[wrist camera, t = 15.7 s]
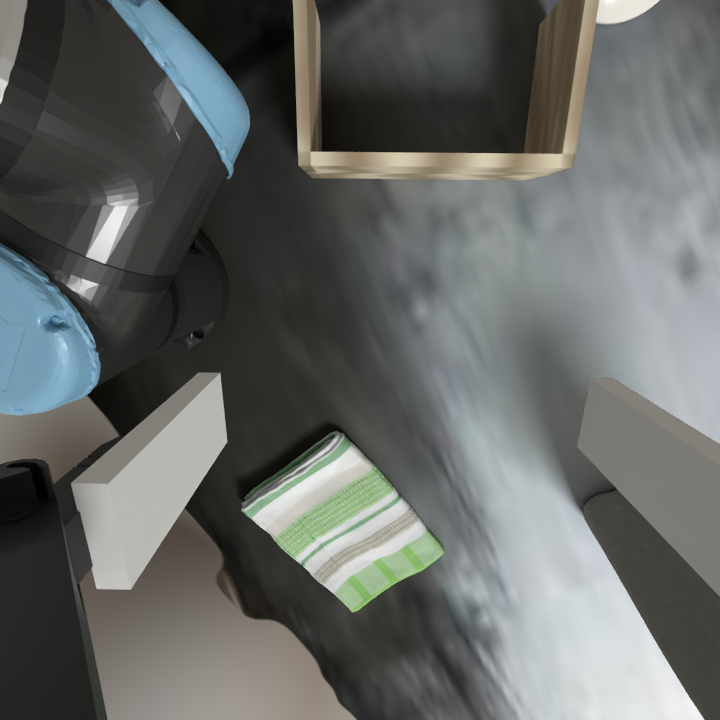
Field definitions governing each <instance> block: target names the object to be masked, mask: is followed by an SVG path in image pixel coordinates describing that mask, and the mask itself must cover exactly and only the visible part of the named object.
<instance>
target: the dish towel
mask: <svg viewBox="0 0 720 720" xmlns="http://www.w3.org/2000/svg"><path fill="white" fill-rule="evenodd" d="M244 499H245V500H246V501H244V502H242V506H243V507H242V511H243V512H244V513H245V514H246V515H247V516H248V517H249V518H251V519H252V520H253V521H254V522H255V523H256V524H257V525H259V526H260V527H261V528H263V529H264V530H265V531H267V532H268V533H269V534H270V535H271V536H272V537H273V539H274V540H275V541H276V542H277V544H278V545H279V546H280V547H281V548H282V549H283V550H284V551H285V552H286V553H287V554H289V555H290V556H291V557H292V558H293V559H295V560H296V561H297V562H299V563H300V564H301V565H302V566H303V567H304V568H305V569H306V570H308V571H309V572H310V574H311V575H312V576H313V577H314V578H315V579H316V580H317V581H318V582H319V583H320V584H322V585H324V586H325V587H326V588H328V589H329V590H330V591H331V592H332V593H333V594H334V595H336V596H337V597H338V598H339V599H340V600H341V601H342V602H343V603H344V604H345V605H346V606H347V607H348V608H349V609H350V610H351V612H355V611H357V610H359V609H360V608H361V607H363V606H364V605H365V604H367V603H368V602H369V601H370V600H372V599H373V598H374V597H376V596H377V595H379V594H380V593H381V592H383V591H384V590H386V589H387V588H389V587H390V586H392V585H393V584H395V583H396V582H398V581H400V580H402V579H404V578H407V577H408V576H411V575H413V574H415V573H417V572H420V571H422V570H424V569H425V568H426V567H428V566H429V565H430V564H431V563H433V562H434V561H435V560H437V559H438V558H439V557H440V556H441V555H442V554H444V553H445V550H444V548H443V547H442V546H441V544H440V542H439V541H438V540H437V539H436V537H435V536H434V535H433V534H432V533H431V532H430V530H429V529H428V528H427V527H426V526H425V524H424V523H423V522H422V520H421V519H420V518H419V516H418V515H417V513H416V512H415V511H414V510H413V508H412V507H411V506H410V505H409V504H408V503H407V502H406V501H405V500H404V499H403V497H402V496H400V494H399V493H398V492H397V491H396V489H395V488H394V487H393V486H392V484H391V483H390V482H389V481H388V479H387V478H386V477H385V476H384V474H383V473H382V472H381V471H380V470H379V468H378V467H377V466H376V465H375V464H374V463H372V462H371V461H370V460H369V459H368V458H367V457H366V456H365V455H364V454H363V453H362V452H361V451H360V450H359V449H358V448H357V447H356V446H355V445H354V444H353V443H352V442H350V440H349V439H348V438H347V437H346V436H345V435H344V434H343V433H339V432H338V431H335V432H332V433H330V434H329V435H327V436H326V437H325V438H323V439H322V440H321V441H319V442H317V443H316V444H314V445H313V446H312V447H311V448H310V449H308V450H307V451H305V452H304V453H303V454H302V455H301V456H299V457H298V458H297V459H295V460H294V461H292V462H291V463H290V464H289V465H287V466H286V467H284V468H283V469H281V470H280V471H279V472H277V473H276V474H275V475H273V476H272V477H270V478H268V479H267V480H265V481H263V482H262V483H261V484H260V485H258V486H257V487H256V488H254V489H253V490H252V491H251V492H250V493H249V494H247V495H246V496H245V498H244Z"/></svg>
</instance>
